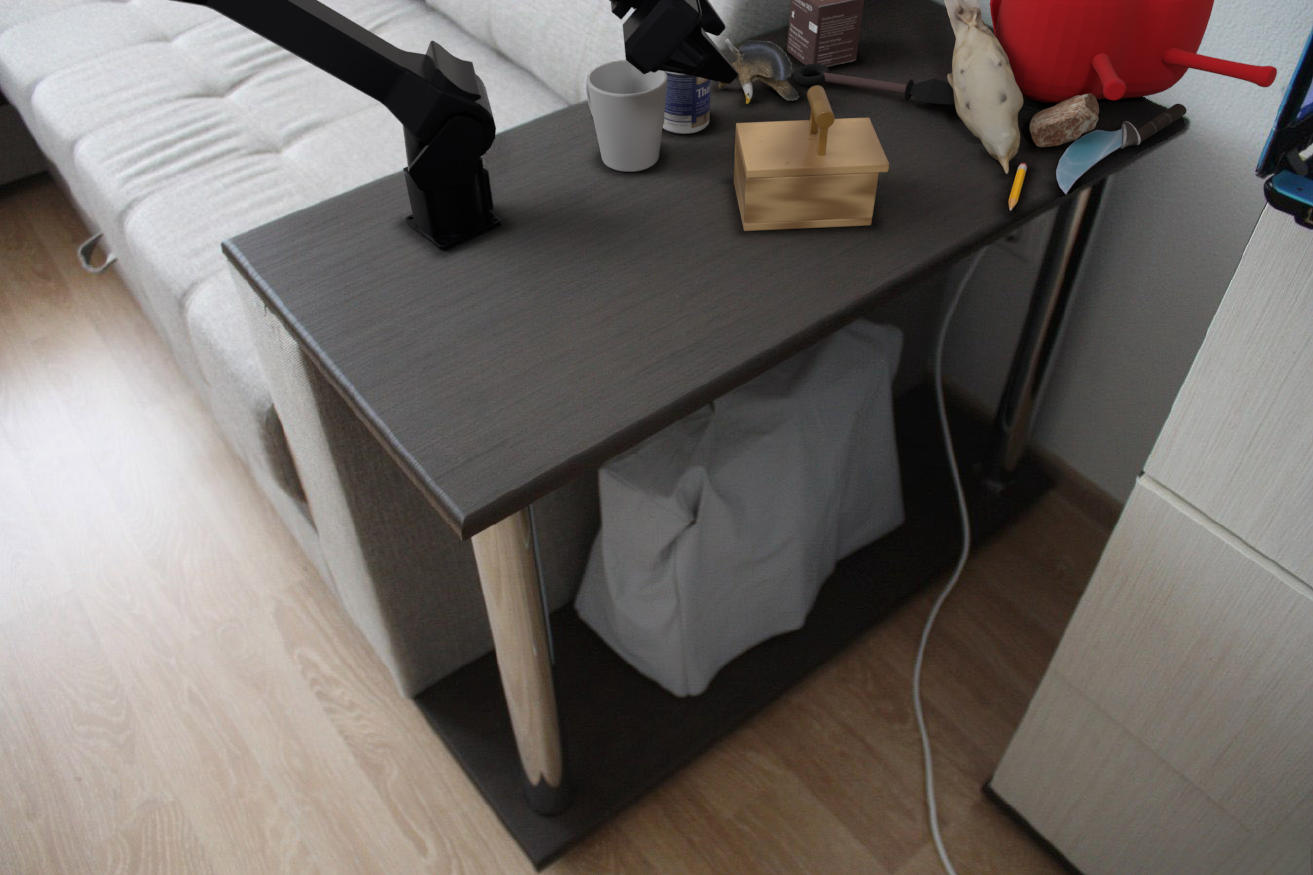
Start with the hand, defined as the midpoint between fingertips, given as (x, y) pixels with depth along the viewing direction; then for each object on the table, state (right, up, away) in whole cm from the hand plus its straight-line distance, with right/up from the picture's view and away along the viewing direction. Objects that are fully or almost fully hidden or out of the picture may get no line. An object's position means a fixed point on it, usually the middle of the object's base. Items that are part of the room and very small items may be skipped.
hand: (727, 54), depth 87 cm
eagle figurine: (+5, +5, +25) cm, 26 cm away
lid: (+8, -7, +5) cm, 12 cm away
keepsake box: (+7, -11, +9) cm, 16 cm away
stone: (+37, -2, +16) cm, 40 cm away
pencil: (+27, -9, +10) cm, 30 cm away
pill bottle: (-3, 0, +21) cm, 21 cm away
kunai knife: (+31, -3, +20) cm, 37 cm away
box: (+13, +11, +32) cm, 36 cm away
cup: (-9, -4, +16) cm, 19 cm away
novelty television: (+37, +18, +30) cm, 50 cm away
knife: (+37, -2, +16) cm, 40 cm away
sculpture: (+24, +5, +14) cm, 28 cm away
